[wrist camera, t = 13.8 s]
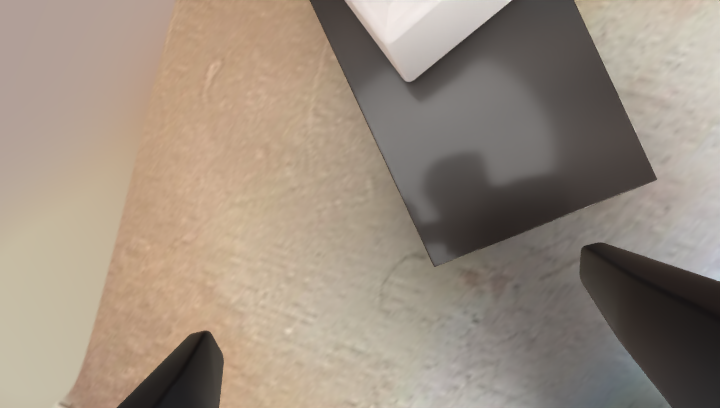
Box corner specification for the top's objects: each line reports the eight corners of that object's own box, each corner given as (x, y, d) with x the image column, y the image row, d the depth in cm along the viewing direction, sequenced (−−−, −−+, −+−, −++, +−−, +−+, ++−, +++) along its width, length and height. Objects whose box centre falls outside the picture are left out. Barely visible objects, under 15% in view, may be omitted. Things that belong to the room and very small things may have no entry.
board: (641, 178, 18) (657, 179, 17) (435, 260, 21) (434, 267, 20) (471, -189, 18) (472, -219, 17) (287, -57, 21) (275, -73, 20)
